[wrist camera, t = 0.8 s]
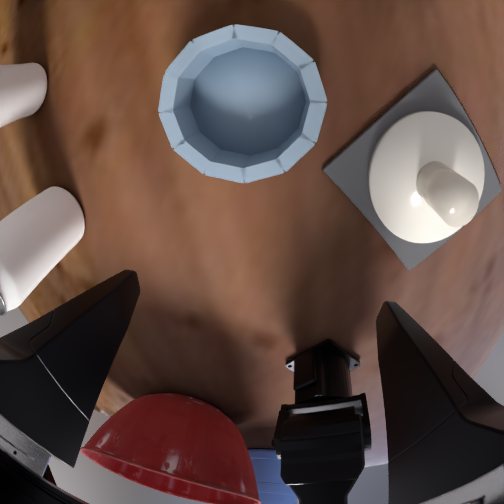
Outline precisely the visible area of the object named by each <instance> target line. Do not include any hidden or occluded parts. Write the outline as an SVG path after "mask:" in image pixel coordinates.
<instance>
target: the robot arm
mask: <svg viewBox="0 0 504 504" xmlns="http://www.w3.org/2000/svg"><path fill="white" fill-rule="evenodd" d="M139 294H140V286H139V281H138V277H137V273H136V272H135V271H133V270H124V271H122V272H120V273H118V274H116V275H114V276H113V277H111V278H109V279H107V280H105V281H103V282H102V283H100V284H98V285H96V286H94V287H92V288H91V289H89V290H87V291H85V292H83V293H82V294H80V295H78V296H76V297H75V298H73V299H71V300H69V301H68V302H66V303H64V304H62V305H61V306H59V307H57V308H55V309H54V310H52V311H50V312H49V313H47V314H45V315H43V316H42V317H40V318H38V319H36V320H34V321H33V322H31V323H29V324H27V325H25V326H23V327H21V328H19V329H17V330H15V331H13V332H11V333H9V334H7V335H5V336H3V337H1V338H0V504H89V503H87V502H85V501H83V500H81V499H79V498H77V497H75V496H73V495H71V494H70V493H68V492H66V491H64V490H62V489H61V488H59V487H57V485H56V483H55V480H54V478H53V475H52V473H51V470H50V467H49V465H48V462H49V459H50V457H51V456H53V457H54V458H56V459H57V460H59V461H61V462H63V463H65V464H66V465H68V466H70V467H72V468H74V466H75V463H76V460H77V457H78V454H79V451H80V447H81V444H82V441H83V438H84V436H85V432H86V430H87V427H88V424H89V420H90V418H91V415H92V413H93V410H94V407H95V405H96V402H97V400H98V397H99V394H100V392H101V389H102V387H103V384H104V382H105V379H106V377H107V375H108V372H109V370H110V367H111V365H112V363H113V360H114V358H115V356H116V353H117V351H118V349H119V347H120V344H121V342H122V340H123V338H124V335H125V333H126V331H127V329H128V326H129V323H130V320H131V317H132V315H133V312H134V309H135V306H136V303H137V300H138V297H139ZM376 330H377V347H378V361H379V368H380V375H381V383H382V391H383V399H384V408H385V418H386V430H387V445H388V461H389V462H388V471H389V504H504V406H502V405H501V404H499V403H498V402H496V401H495V400H494V399H493V398H492V397H491V396H490V395H489V394H488V393H487V392H486V391H485V390H484V389H483V388H481V387H480V386H479V385H478V384H477V383H476V382H475V381H474V380H473V379H472V378H471V377H470V376H469V375H468V374H467V373H466V372H465V371H464V370H463V369H462V368H461V367H460V366H459V365H458V364H457V363H456V362H455V361H453V358H452V357H451V356H450V355H449V354H448V353H447V352H446V351H445V350H444V349H443V348H442V347H441V346H440V345H439V344H438V343H437V342H436V341H435V340H434V339H433V338H432V337H431V336H430V335H429V334H428V333H427V332H426V331H425V330H424V329H423V328H422V327H421V326H420V325H419V324H418V323H417V322H416V321H415V320H414V319H413V318H412V317H411V316H410V315H409V314H408V313H407V312H406V311H405V310H404V309H403V308H401V307H400V306H399V305H398V304H397V303H396V302H394V301H385V302H384V303H383V305H382V307H381V310H380V312H379V314H378V316H377V319H376ZM359 366H360V361H359V360H358V359H356V358H355V357H353V356H352V355H351V354H349V353H348V352H347V351H345V350H344V349H342V348H341V347H340V346H338V345H337V344H336V343H334V342H333V341H332V340H326V341H324V342H322V343H320V344H319V345H317V346H315V347H313V348H311V349H310V350H308V351H306V352H304V353H302V354H301V355H299V356H297V357H295V358H293V359H291V360H289V361H287V362H286V368H288V369H289V370H291V371H293V372H294V388H293V389H294V390H295V404H291V405H287V404H282V405H281V410H280V411H279V415H278V420H277V425H276V430H275V434H274V437H273V440H272V446H273V447H274V448H275V450H276V455H277V458H278V459H279V460H281V471H280V476H281V478H282V480H283V482H284V483H285V484H286V485H289V486H290V488H291V489H292V491H293V492H294V493H295V495H296V496H297V497H298V499H299V504H348V493H349V492H350V490H351V489H352V487H353V485H354V484H355V482H356V480H357V479H358V477H359V475H360V474H361V472H362V470H363V468H364V466H365V458H364V451H367V450H371V428H370V420H369V413H368V407H367V401H366V395H365V393H362V394H360V395H355V396H352V387H351V378H350V371H351V370H353V369H355V368H357V367H359Z"/></svg>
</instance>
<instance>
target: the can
mask: <svg viewBox="0 0 504 504" xmlns="http://www.w3.org/2000/svg"><path fill="white" fill-rule="evenodd" d="M84 228H85V221H84V215H83V211H82V209H81V207H80V205H79V203H78V201H77V200H76V198H75V197H74V196H73V195H72V194H71V193H70V192H68V191H67V190H65V189H63V188H60V187H50V188H48V189H46V190H44V191H43V192H41V193H39V194H38V195H36V196H35V197H33V198H32V199H30V200H29V201H27V202H26V203H24V204H23V205H22V206H20V207H19V208H17V209H16V210H14V211H13V212H12V213H10V214H9V215H8V216H6V217H5V218H4V219H2V220H1V221H0V316H5V315H6V312H7V311H9V310H12V309H15V308H17V307H18V306H19V305H20V304H21V303H22V302H23V301H24V300H25V299H26V297H27V296H28V295H29V294H30V293H31V292H32V290H33V289H34V288H35V287H36V286H37V285H38V284H39V283H40V282H41V280H42V279H43V278H44V277H45V276H46V275H47V274H48V273H49V272H50V271H51V270H52V268H53V267H54V266H55V265H56V264H57V263H58V262H59V261H60V260H61V259H62V258H63V257H64V256H65V255H66V254H67V253H68V252H69V251H70V250H71V249H72V248H73V247H74V246H75V245H76V244H77V243H78V242H79V241H80V240H81V238H82V236H83V234H84Z"/></svg>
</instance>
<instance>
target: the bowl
mask: <svg viewBox="0 0 504 504" xmlns="http://www.w3.org/2000/svg"><path fill="white" fill-rule="evenodd" d="M192 40H193V42H192V41H190V42H189V43H188V44H187V45H186V47H185V48H184V49H183V50H182V51H181V52H180V54H179V55H178V56H177V57H176V59H175V60H174V61H173V62H172V63H171V65H170V66H169V67H168V69H167V70H166V71H165V72H166V73H167V74H164V77H163V83H162V89H161V95H160V102H159V109H158V112H161V113H159V116H160V119H161V122H162V124H163V127H164V129H165V132H166V134H167V137H168V139H169V142H170V144H171V147H172V148H174V147H176V148H175V149H174V151H175V152H176V153H178V154H179V155H180V156H181V157H183V158H184V159H185V160H186V161H187V162H189V163H190V164H191V165H192V166H194V167H195V168H196V169H197V170H198V171H200V172H201V173H202V174H204V172H205V175H206V176H211V177H216V178H221V179H225V180H230V181H235V182H239V183H244V181H245V183H249V182H252V181H256V180H260V179H263V178H267V177H271V176H275V175H279V174H283V173H284V170H285V171H286V172H287V171H288V170H289V169H290V168H291V167H292V166H293V165H294V164H295V163H296V162H297V161H298V160H299V159H300V158H301V157H302V156H304V155H305V154H306V153H307V152H308V151H309V150H310V149H311V148H312V147H313V146H314V145H315V143H314V142H317V139H318V136H319V132H320V129H321V125H322V122H323V118H324V114H325V111H326V107H327V103H324V102H326V101H327V98H326V95H325V91H324V88H323V85H322V82H321V79H320V75H319V72H318V69H317V66H316V63H315V62H312V61H313V59H312V58H311V57H310V56H309V55H308V54H307V53H305V52H304V51H303V50H302V49H301V48H300V47H298V46H297V45H296V44H295V43H294V42H292V41H291V40H290V39H289V38H287V37H286V36H285V35H284V34H282V33H281V32H280V33H278V31H275V30H270V29H264V28H258V27H252V26H245V25H237V24H235V26H233V25H229V26H226V27H223V28H221V29H218V30H215V31H212V32H210V33H207V34H205V35H202V36H200V37H197V38H195V39H192ZM311 62H312V63H311Z"/></svg>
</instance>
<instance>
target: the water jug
mask: <svg viewBox="0 0 504 504" xmlns="http://www.w3.org/2000/svg"><path fill="white" fill-rule="evenodd" d="M248 452H249V455H250V458H251V462H252V465H253V469H254V473H255V478H256V483H257V489H258V495H259V500H260V501H261V504H297V496H296V495H295V493H294V492H293V491H292V489H291V488H290V486H289V485H286V484H285V483H284V482H283V480H282V478H281V476H280V471H281V460H279V459H278V458H277V455H276V450H270V449H249V450H248Z"/></svg>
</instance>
